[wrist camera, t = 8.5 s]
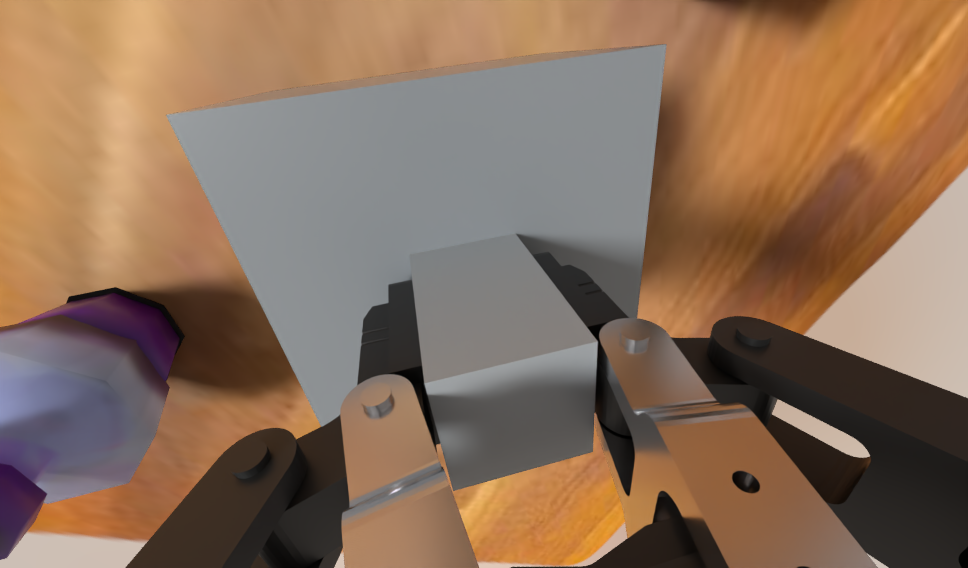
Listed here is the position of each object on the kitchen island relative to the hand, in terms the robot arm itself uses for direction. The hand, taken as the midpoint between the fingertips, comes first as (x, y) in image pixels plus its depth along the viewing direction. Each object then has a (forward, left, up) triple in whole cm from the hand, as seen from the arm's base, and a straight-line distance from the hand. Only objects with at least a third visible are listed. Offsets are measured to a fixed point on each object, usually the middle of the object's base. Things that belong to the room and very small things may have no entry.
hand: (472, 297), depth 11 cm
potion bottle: (+5, -18, -12) cm, 22 cm away
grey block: (0, 0, -9) cm, 9 cm away
